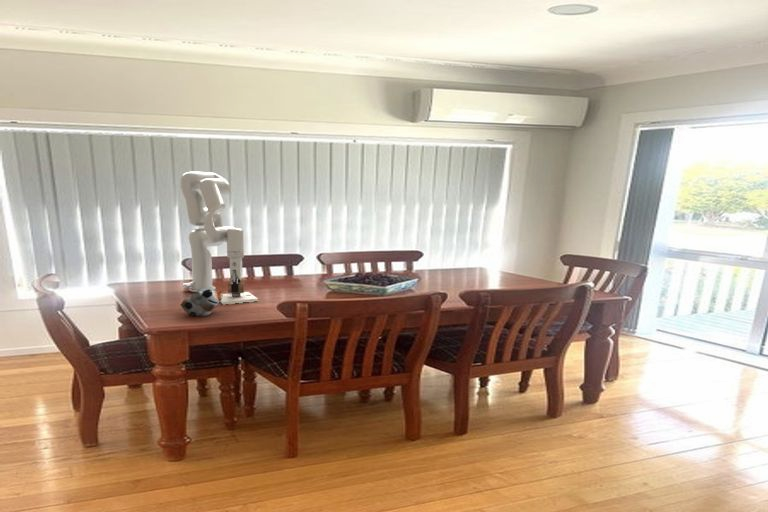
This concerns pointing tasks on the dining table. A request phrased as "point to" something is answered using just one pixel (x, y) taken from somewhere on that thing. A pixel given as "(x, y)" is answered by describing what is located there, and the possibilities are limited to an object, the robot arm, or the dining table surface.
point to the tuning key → (236, 294)
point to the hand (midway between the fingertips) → (236, 290)
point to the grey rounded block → (202, 302)
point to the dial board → (238, 298)
